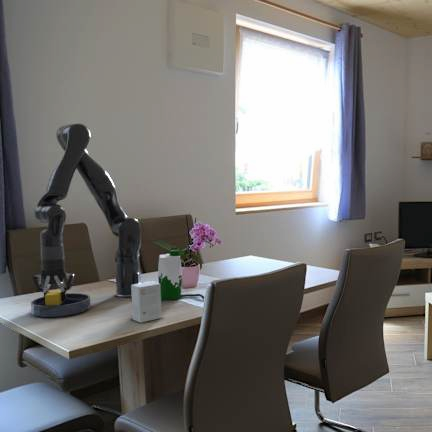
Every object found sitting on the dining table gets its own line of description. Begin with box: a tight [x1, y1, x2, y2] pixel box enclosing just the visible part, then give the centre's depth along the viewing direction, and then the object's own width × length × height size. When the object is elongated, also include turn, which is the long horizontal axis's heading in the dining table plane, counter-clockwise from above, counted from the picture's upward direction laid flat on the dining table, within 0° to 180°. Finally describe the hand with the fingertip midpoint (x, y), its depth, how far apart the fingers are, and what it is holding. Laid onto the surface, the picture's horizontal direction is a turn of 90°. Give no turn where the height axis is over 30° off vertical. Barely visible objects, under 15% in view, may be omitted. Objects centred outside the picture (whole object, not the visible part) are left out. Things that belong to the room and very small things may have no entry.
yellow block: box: [45, 289, 62, 306], centre depth 207 cm, size 7×5×4 cm, turn 14°
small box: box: [131, 280, 163, 324], centre depth 199 cm, size 8×6×13 cm
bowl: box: [30, 292, 91, 318], centre depth 208 cm, size 19×19×4 cm
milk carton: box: [157, 249, 183, 301], centre depth 229 cm, size 9×9×20 cm
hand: (55, 301), depth 207 cm, fingers closed on yellow block, 4 cm apart
